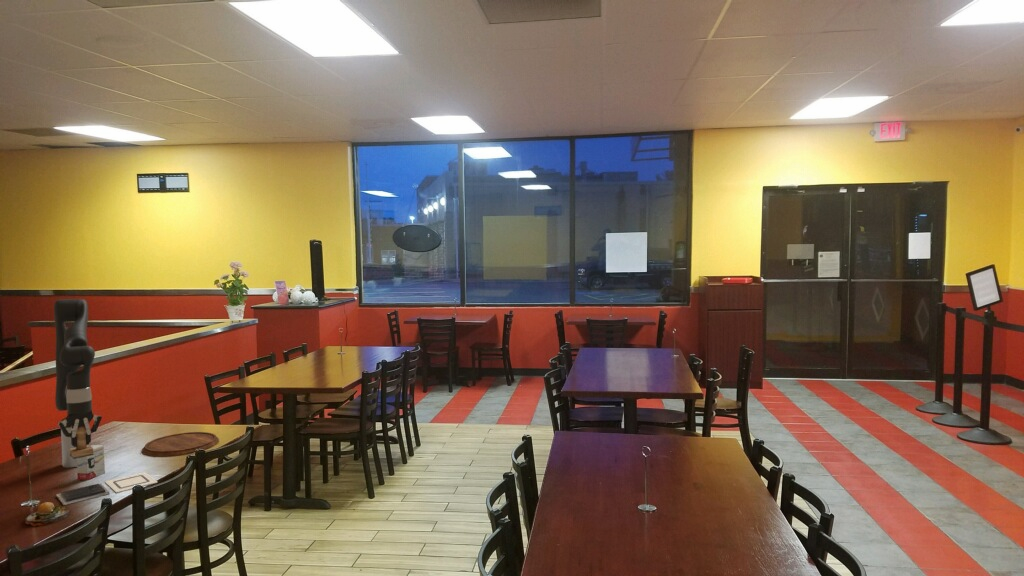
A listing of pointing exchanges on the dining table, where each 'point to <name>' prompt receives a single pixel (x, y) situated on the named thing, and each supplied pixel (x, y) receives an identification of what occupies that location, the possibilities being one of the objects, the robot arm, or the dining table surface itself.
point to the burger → (47, 514)
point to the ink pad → (82, 494)
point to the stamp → (81, 445)
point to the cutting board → (180, 444)
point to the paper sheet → (130, 482)
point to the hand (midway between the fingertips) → (81, 445)
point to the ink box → (91, 464)
